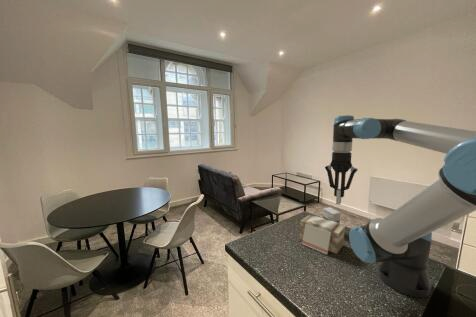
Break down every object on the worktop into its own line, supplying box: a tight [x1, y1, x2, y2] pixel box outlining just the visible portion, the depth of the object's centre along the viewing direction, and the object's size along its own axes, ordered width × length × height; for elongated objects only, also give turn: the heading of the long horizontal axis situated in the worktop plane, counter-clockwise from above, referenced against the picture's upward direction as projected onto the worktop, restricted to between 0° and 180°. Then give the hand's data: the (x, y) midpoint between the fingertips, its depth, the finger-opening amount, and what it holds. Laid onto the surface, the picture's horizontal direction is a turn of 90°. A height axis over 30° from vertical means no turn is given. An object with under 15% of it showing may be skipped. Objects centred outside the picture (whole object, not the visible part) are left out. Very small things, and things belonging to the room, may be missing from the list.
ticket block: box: [299, 214, 346, 255], centre depth 98 cm, size 18×10×11 cm, turn 46°
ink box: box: [321, 206, 341, 224], centre depth 110 cm, size 8×5×12 cm, turn 17°
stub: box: [301, 224, 331, 255], centre depth 93 cm, size 12×10×1 cm
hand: (338, 203), depth 88 cm, fingers closed
